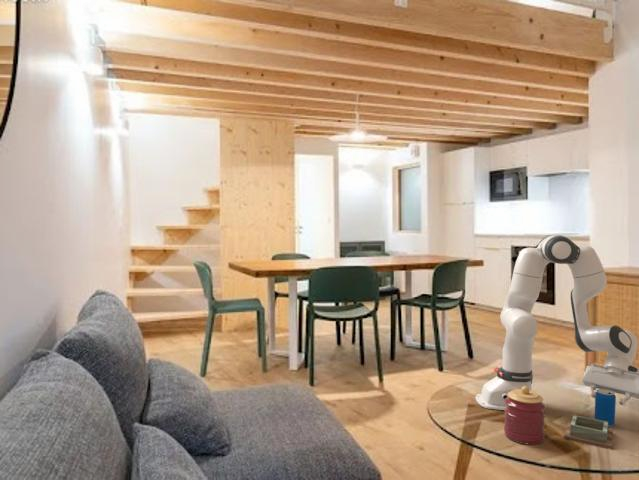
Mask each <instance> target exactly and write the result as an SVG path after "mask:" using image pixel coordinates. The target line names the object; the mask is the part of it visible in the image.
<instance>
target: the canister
mask: <svg viewBox="0 0 639 480" xmlns="http://www.w3.org/2000/svg"><path fill="white" fill-rule="evenodd" d="M543 401H544V398H543V396H541V395H540V394H538V392H536V391H533V390H532V391H531V390H529V388H528V387H527V386H523V387H522V388H521V389H515V390H513V391H511V392H509V393H508V397H507V398H506V399H505V403H506V408H505V410H504V425H503V431H504V435H505V436H506V437H507V438H508V439H510V440H511V439H512V440H511V441H513V440H514V441H513V442H515V441H518V442H517V443H519V442H522V443H521V444H523V443H528V444H527V445H539V444H542V443H543V442H544V440H545V436H546V434H545V433H546V432H545V419H546V414H545V412H544V411H545V409H546V407H547V406H546V404H545V403H544V402H543Z"/></svg>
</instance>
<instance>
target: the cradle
mask: <svg viewBox="0 0 639 480" xmlns="http://www.w3.org/2000/svg"><path fill="white" fill-rule="evenodd" d="M613 436H614V431H613V430H612V429H611V430H610V429H609V427H608V422H607V421H602V420H597V419H595V418H592V417H587V416H583V415H582V416H581V415H577V414H573V416H572V419H571V421H568V423H567V426H566V429H565V433H564V439H565V440H569V441H573V442H577V443H578V442H579V443H583V444H588V445H590V446H595V447H599V446H600V448H604V449H608V448H610V449H609V450H612V448H613V439H614V438H613Z"/></svg>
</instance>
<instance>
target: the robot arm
mask: <svg viewBox="0 0 639 480" xmlns="http://www.w3.org/2000/svg"><path fill="white" fill-rule="evenodd" d="M600 259H601V258H599V256H598V254H597V252H596V251H595V249H594V248H593V247H592V246H589V245H585V244H584V245H577V244H576V243H574V241H572V239H570V238H569V237H567V236H564V235H561V234H550V235H546V236H545V237H543V238H542V239H541V240H540V241H539V242H538V244H536V245H535V247H525V248H522V249H521V250H520V251H519V254H518V256H517V258H516V261H515V264H514V268H513V270H512V271H513V273H512V276H511V277H512V278H511V282H510V287H509V290H508V294H507V295H506V300H505V301H504V304H503V308H502V310H501V312H500V314H499V315H500V317H499V318H500V319H499V320H500V324H501V326H502V327H504V329H505V330H506V331H505V339H504V344H503V347H502V356H501V357H502V361H501V362H502V364H501V367H498V366H494V367H493V372H494V373H496V376H495V377H493V378H492V379H490V380H488V381H487V382H485V383H484V384H483V386H482V389H481V393H477V394H476V395H475V400H476V402H477V403H478V404H479V406H481V407H483V408H485V409H489V410H498V411H499V410H500V411H505V408H506V403H505V399H506V398H507V397H508V393H509V392H511V391H513V390H515V389H521V388H522V387H523V386H527V387H528V388H529V390H531V391H533V389H532V384H533V377H534V376H533V369H532V363H533V362H532V361H533V359H532V358H533V349H534V343H535V340H536V335H537V334H538V330H539V327H538V326H539V325H538V322H537V320H536V318H535V317H534V316H533V315H532V311H533V308H534V306H535V303H536V301H537V300H538V298H539V295H540V291H541V287H542V282H543V277H544V271H545V269H546V267H547V265H549V264H550V263H553V264H559V265H564V264H565V265H567V266H568V267H569V269H570V272H571V275H572V278H573V283H574V284H573V289H571V291H570V305H571V312H572V317H573V318H572V319H573V323H574V340H575V341H574V342H575V344H576V345H577V347H578V348H579V349H580V350H582V351H583V352H586V353H590V352H591V353H592V352H606V353H608V355H607V356H606V358H605V361H604V365H598V364H593V363H591V364H589V365H587V366H586V368H585V372H584V373H583V375H582V383H583V385H584V386H586V387H589V388H591V398H592V399H593V398H594V399H595V394H596V392H597V390H598V389H605V390H610V391H613V392H614V393H615V394H619V395H623V396H624V397H623V398H622V397H620V399H619V401H618V402H619V405H621V406H625V405H626V402H628V401H629V400H631V399H632V398H636V399H639V368H638V367H637V366H635V365H633V362H634V360H635V359H636V355H637V350H638V338H637V336H636V335H635V333H633V332H632V331H630V330H626V329H623V328H622V327H621V326H618V325H594V326H593V325H591V324H590V320H589V315H588V314H589V313H588V306H587V305H588V302H590V300H591V299H593V298H595V297H597V296H599V295H601V294H602V292H604V290H605V289H606V287H607V284H608V281H607V275H606V273H605V269H604V267H603V264H602V262H601V260H600ZM631 397H632V398H631Z"/></svg>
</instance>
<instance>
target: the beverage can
mask: <svg viewBox="0 0 639 480" xmlns="http://www.w3.org/2000/svg"><path fill="white" fill-rule="evenodd" d="M595 392H596V394H595V398H594V400H595V401H594V419H597V420H602V421H607V422H608V428H609V427H613V426H614V425H615V422H616V404H617V403H616V399H617V398H616V393H614V392H613V391H610V390H605V389H596V391H595Z"/></svg>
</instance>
